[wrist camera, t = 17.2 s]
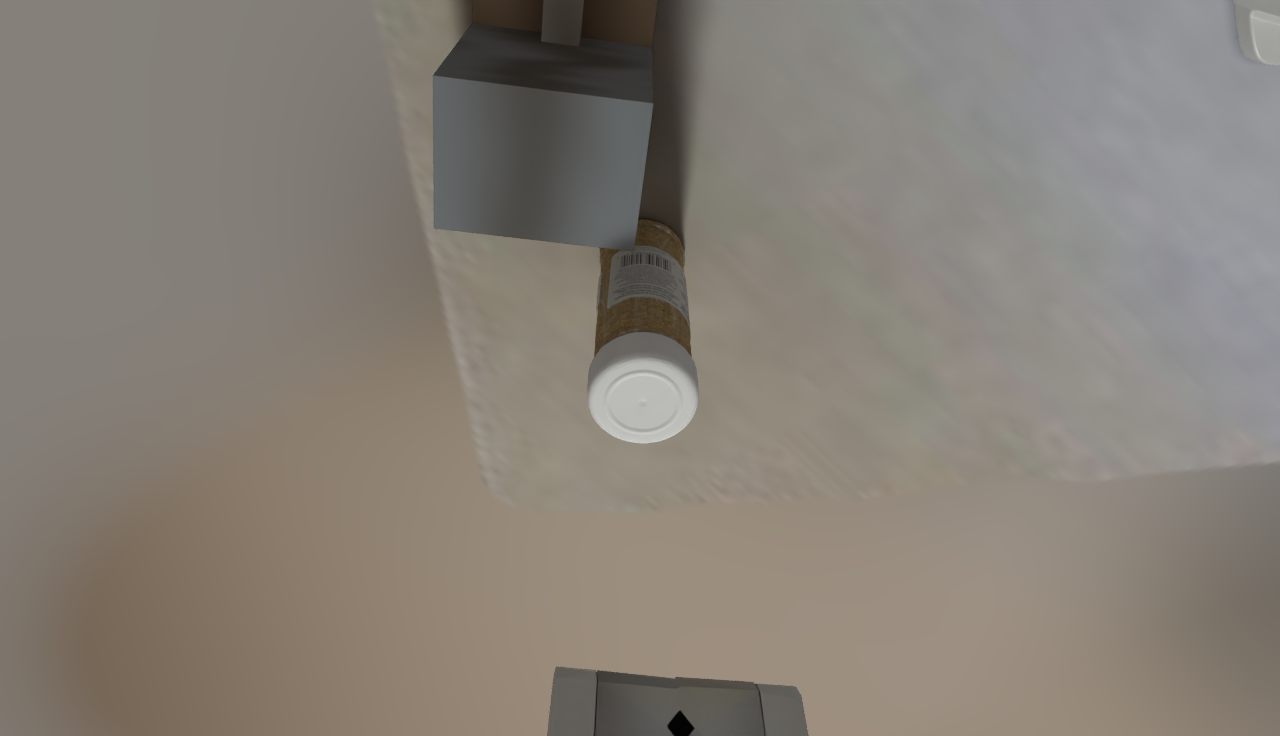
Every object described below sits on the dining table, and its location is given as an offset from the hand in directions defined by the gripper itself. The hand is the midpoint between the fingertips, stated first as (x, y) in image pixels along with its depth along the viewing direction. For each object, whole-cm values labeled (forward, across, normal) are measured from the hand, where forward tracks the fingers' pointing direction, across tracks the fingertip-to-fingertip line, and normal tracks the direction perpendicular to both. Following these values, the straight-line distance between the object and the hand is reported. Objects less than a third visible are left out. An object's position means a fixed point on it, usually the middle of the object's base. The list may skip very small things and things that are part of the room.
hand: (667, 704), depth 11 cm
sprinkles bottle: (+35, -1, +11) cm, 37 cm away
